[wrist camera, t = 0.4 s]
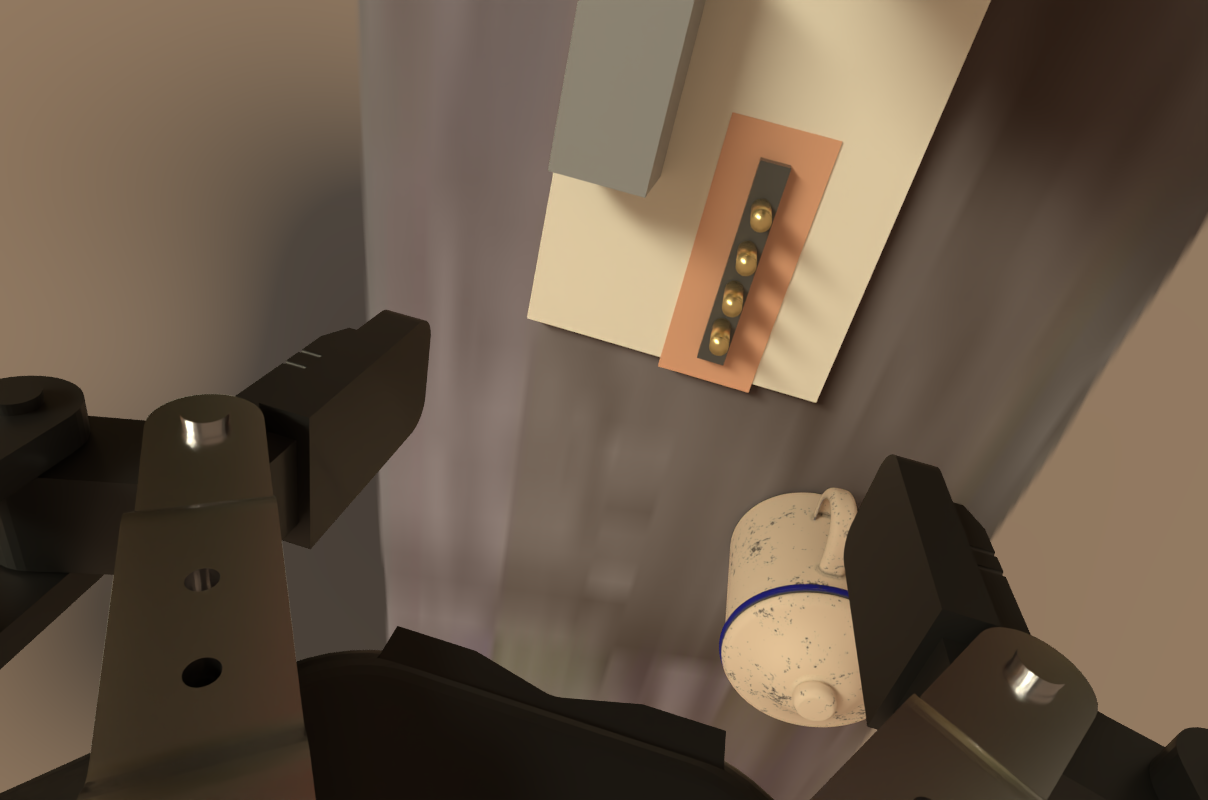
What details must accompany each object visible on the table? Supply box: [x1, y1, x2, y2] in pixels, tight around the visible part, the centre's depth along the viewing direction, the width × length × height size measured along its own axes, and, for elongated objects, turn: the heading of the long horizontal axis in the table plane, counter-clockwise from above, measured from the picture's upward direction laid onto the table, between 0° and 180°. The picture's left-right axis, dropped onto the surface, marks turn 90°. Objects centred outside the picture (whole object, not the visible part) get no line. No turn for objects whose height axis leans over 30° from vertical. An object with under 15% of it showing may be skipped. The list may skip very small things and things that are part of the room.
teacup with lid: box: [719, 488, 866, 727], centre depth 37 cm, size 12×9×12 cm
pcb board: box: [527, 0, 991, 403], centre depth 33 cm, size 20×16×1 cm
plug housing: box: [548, 0, 706, 198], centre depth 29 cm, size 10×4×5 cm, turn 167°
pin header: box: [697, 157, 791, 365], centre depth 34 cm, size 10×1×1 cm, turn 167°
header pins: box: [709, 199, 772, 356], centre depth 32 cm, size 7×1×3 cm, turn 167°
